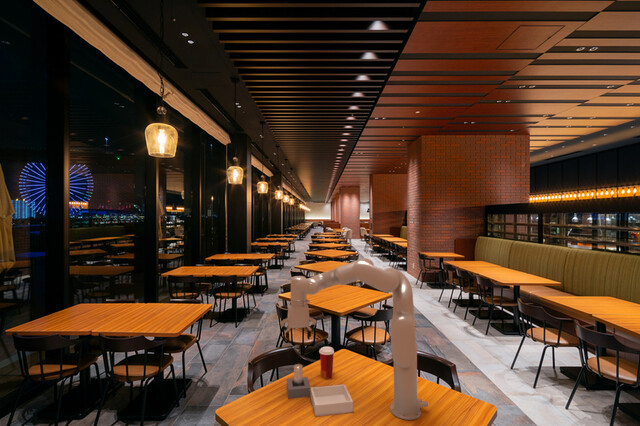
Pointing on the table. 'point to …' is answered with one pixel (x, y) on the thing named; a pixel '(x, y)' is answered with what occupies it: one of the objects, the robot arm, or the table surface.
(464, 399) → the table surface
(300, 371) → the pin
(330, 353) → the paper cup
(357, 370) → the table surface
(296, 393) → the block
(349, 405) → the tray
